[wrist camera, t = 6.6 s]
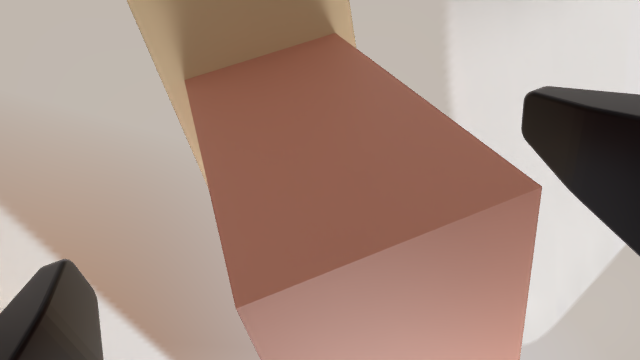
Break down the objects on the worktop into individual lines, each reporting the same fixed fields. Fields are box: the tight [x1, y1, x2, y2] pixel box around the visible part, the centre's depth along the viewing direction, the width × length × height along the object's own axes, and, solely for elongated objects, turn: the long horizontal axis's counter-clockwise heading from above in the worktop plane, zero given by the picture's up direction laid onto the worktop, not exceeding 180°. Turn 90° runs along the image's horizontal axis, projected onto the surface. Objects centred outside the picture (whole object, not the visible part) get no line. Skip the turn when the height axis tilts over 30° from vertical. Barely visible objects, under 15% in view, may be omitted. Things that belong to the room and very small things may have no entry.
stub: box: [127, 0, 542, 360], centre depth 9 cm, size 10×4×8 cm, turn 12°
